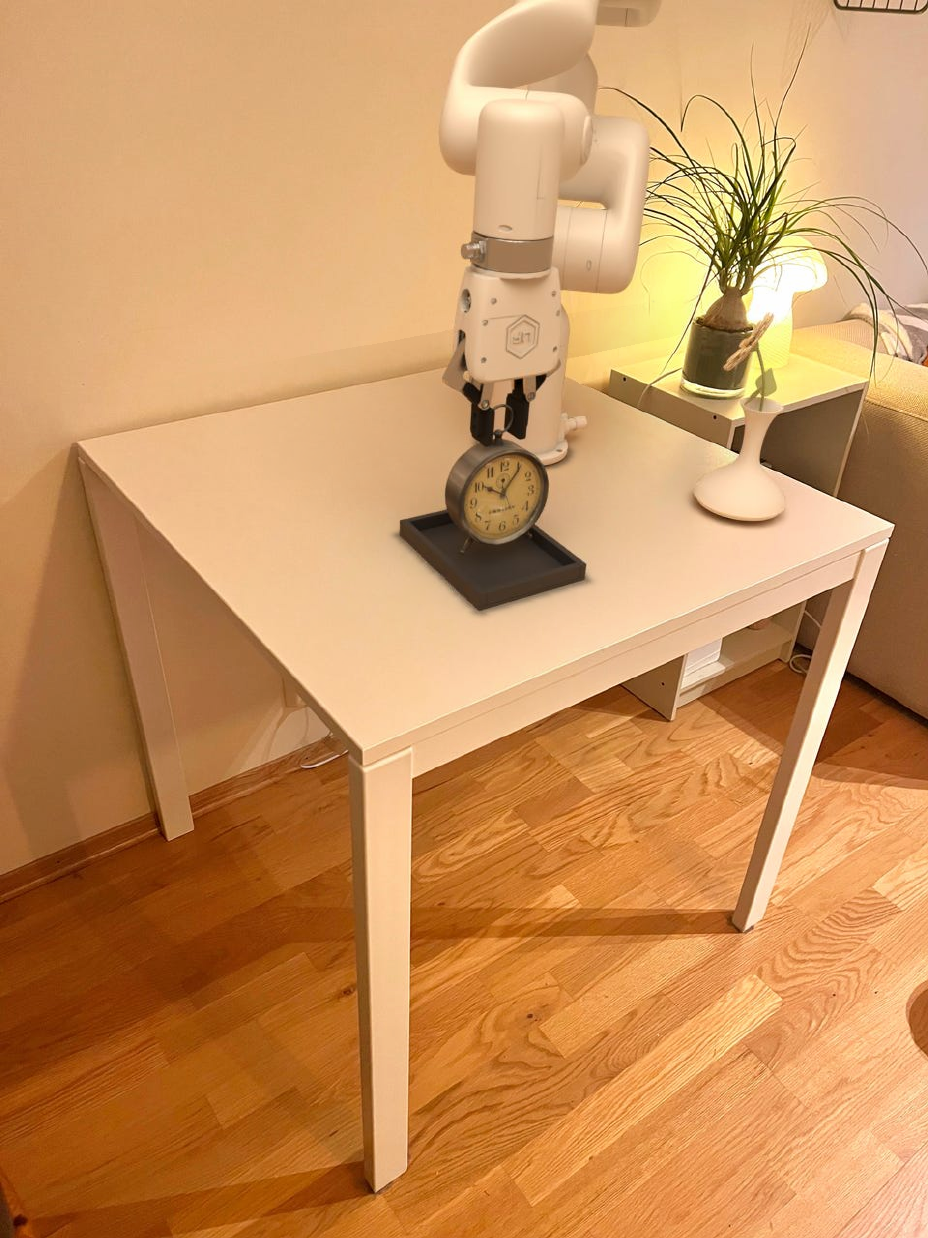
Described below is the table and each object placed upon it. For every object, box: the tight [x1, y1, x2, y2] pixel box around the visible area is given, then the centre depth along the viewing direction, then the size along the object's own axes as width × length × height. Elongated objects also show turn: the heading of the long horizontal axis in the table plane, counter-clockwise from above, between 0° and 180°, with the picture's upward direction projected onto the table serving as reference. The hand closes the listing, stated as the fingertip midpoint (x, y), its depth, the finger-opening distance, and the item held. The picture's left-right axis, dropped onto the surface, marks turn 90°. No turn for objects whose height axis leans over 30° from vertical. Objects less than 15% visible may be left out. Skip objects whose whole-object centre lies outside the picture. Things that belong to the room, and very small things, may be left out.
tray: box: [399, 508, 587, 611], centre depth 102 cm, size 14×18×2 cm
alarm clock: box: [444, 404, 550, 555], centre depth 97 cm, size 11×5×16 cm, turn 117°
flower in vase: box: [693, 311, 787, 522], centre depth 108 cm, size 13×11×25 cm
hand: (498, 436), depth 95 cm, fingers closed on alarm clock, 3 cm apart
